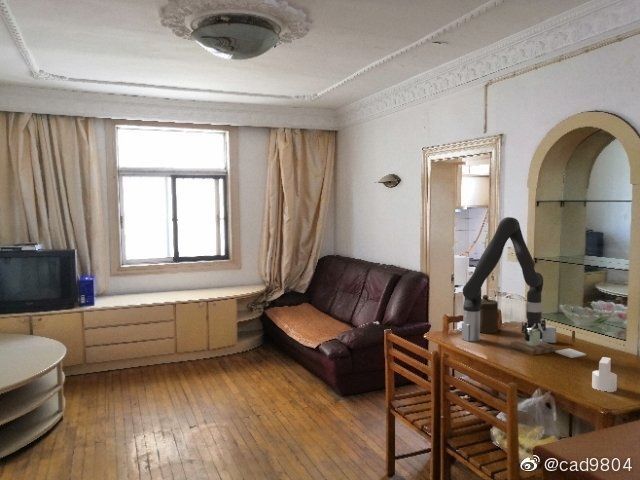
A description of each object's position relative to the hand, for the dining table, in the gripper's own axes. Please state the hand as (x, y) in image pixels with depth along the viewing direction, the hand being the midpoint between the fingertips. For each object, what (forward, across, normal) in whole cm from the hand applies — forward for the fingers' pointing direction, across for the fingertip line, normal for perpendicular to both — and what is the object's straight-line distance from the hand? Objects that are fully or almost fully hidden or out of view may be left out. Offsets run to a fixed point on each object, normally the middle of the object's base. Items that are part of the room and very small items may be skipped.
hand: (533, 339), depth 256 cm
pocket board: (+5, 0, 0) cm, 5 cm away
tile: (+5, -11, +14) cm, 18 cm away
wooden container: (+5, -1, -40) cm, 40 cm away
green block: (+5, 0, 0) cm, 5 cm away
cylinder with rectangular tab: (+5, +14, +53) cm, 55 cm away
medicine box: (+5, -17, -7) cm, 19 cm away
